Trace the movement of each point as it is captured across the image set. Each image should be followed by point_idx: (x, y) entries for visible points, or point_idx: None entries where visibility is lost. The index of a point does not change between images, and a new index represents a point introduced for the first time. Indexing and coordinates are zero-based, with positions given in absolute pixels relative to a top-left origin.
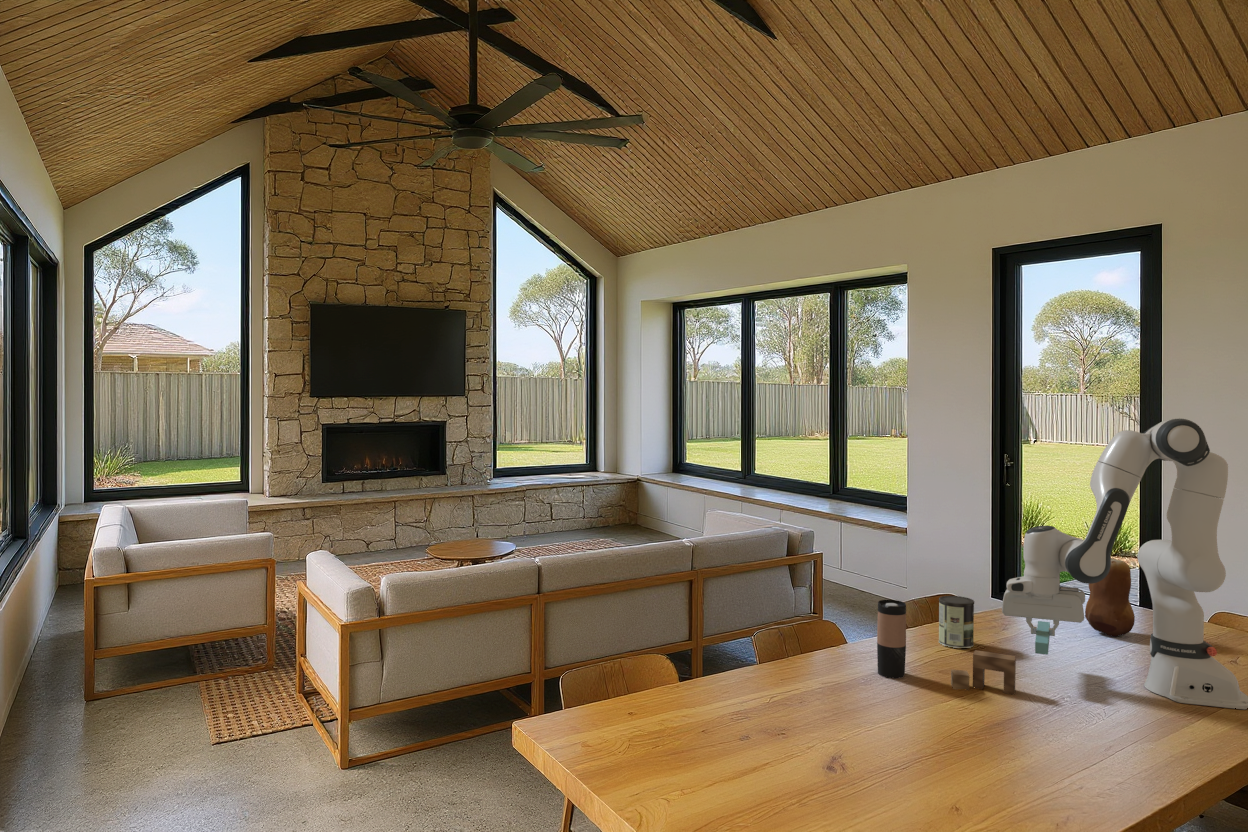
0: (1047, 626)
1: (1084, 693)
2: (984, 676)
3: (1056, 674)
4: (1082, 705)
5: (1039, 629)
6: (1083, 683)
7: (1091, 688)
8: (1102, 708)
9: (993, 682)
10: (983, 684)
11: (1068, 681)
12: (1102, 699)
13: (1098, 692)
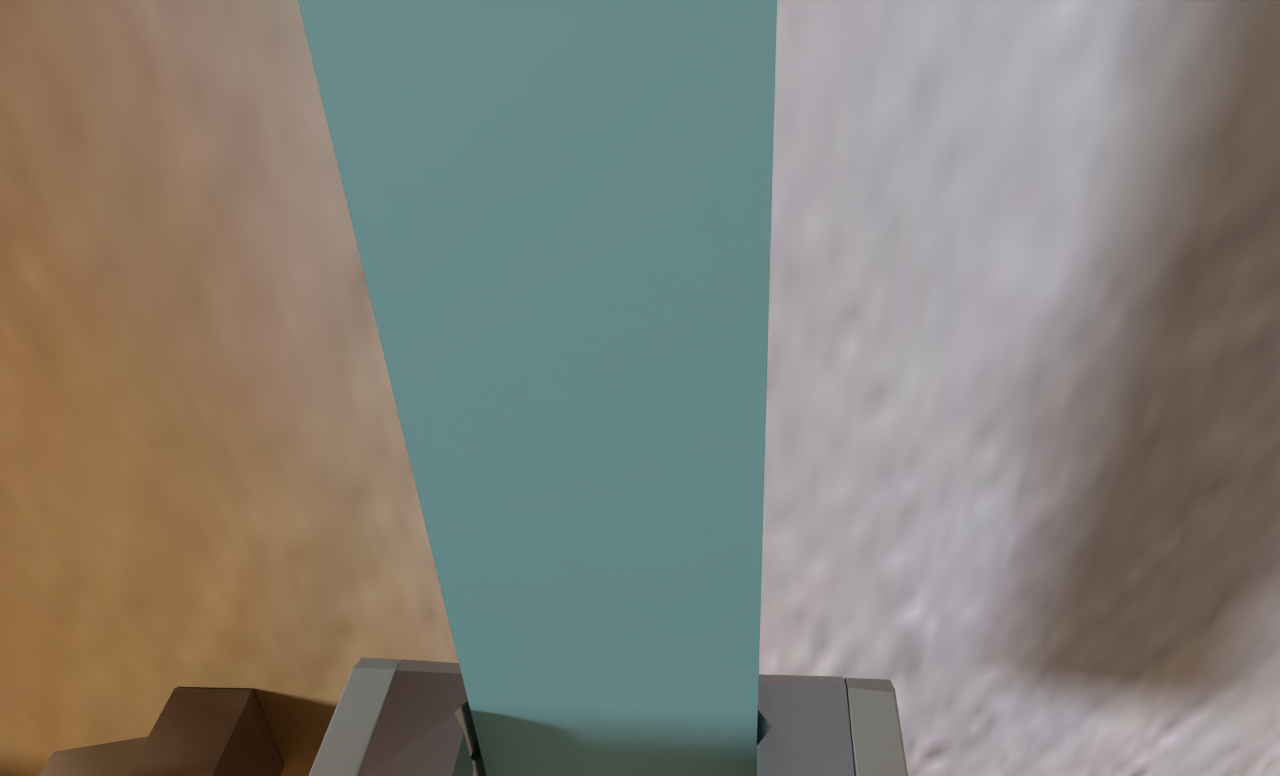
0: (701, 280)
1: (1066, 545)
2: (222, 752)
3: (836, 58)
4: (988, 769)
5: (517, 650)
6: (1137, 257)
7: (1186, 383)
8: (1132, 767)
9: (287, 616)
10: (262, 757)
11: (962, 272)
12: (1200, 613)
13: (1226, 466)
